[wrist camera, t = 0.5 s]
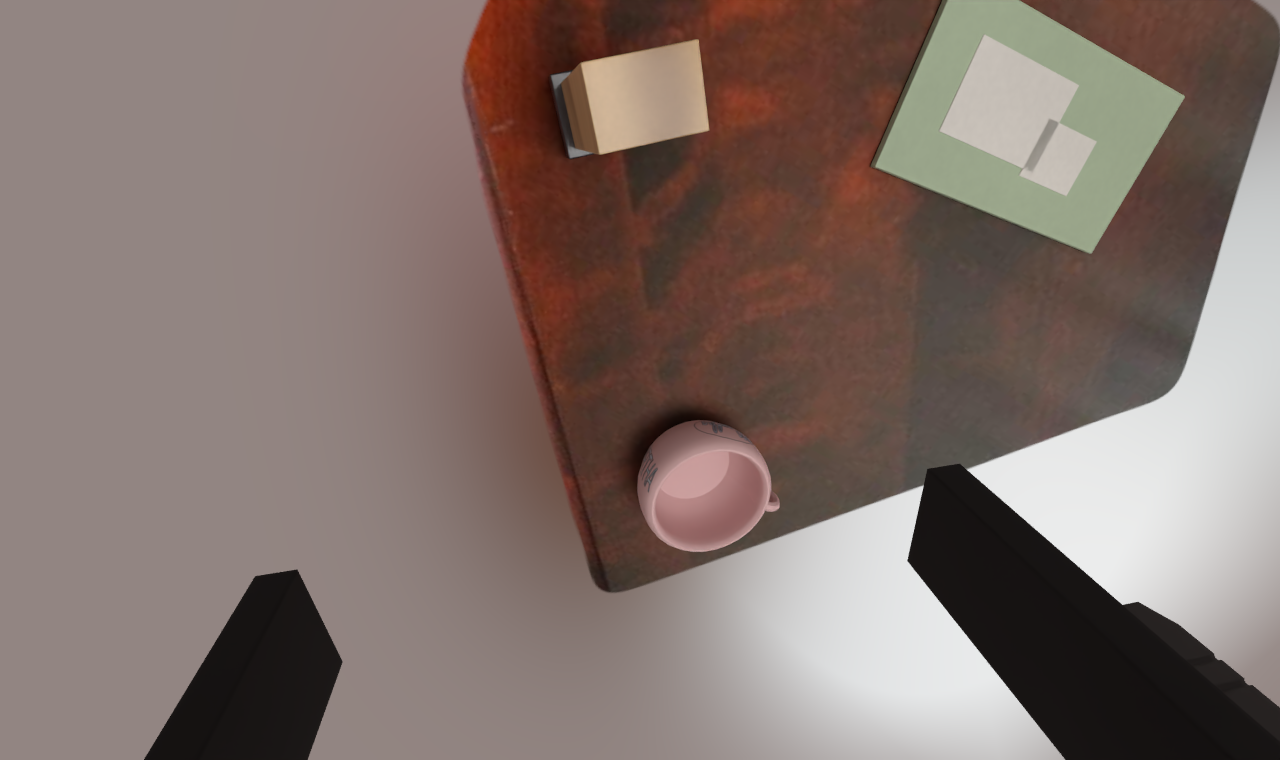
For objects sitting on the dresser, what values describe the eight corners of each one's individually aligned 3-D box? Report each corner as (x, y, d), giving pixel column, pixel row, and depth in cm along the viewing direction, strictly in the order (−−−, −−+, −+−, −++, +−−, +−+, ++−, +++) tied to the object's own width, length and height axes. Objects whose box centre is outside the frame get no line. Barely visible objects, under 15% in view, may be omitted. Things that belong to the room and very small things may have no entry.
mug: (611, 497, 45) (624, 545, 40) (655, 391, 42) (676, 429, 36) (736, 521, 49) (763, 568, 44) (785, 426, 46) (820, 465, 40)
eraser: (566, 158, 34) (590, 169, 24) (547, 77, 32) (564, 50, 22) (659, 138, 34) (721, 140, 24) (646, 57, 32) (708, 22, 22)
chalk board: (869, 166, 38) (875, 167, 37) (955, -31, 34) (963, -34, 33) (1084, 252, 45) (1092, 254, 44) (1176, 96, 41) (1186, 96, 40)
